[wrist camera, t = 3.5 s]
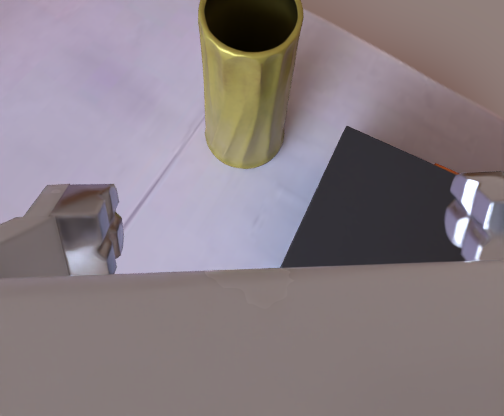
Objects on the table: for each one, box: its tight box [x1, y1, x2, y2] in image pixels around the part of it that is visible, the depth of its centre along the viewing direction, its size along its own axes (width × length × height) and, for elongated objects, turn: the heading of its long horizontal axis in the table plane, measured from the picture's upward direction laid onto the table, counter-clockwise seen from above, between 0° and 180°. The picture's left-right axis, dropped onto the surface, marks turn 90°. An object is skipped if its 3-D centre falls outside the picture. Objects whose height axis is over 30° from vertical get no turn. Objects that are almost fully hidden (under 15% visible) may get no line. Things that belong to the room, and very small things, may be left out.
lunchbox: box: [280, 126, 465, 268], centre depth 31 cm, size 15×12×6 cm
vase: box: [198, 0, 303, 169], centre depth 30 cm, size 6×6×14 cm
